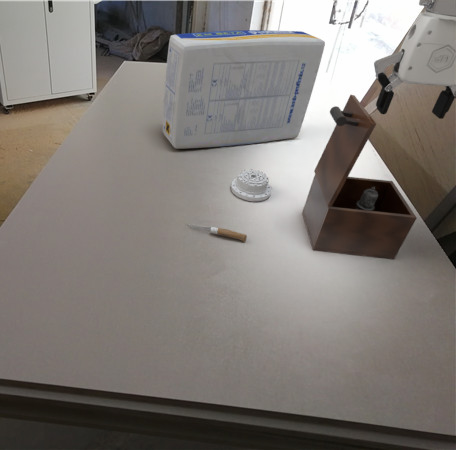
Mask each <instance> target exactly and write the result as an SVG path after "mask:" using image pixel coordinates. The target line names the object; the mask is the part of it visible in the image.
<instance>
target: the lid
mask: <svg viewBox="0 0 456 450" xmlns="http://www.w3.org/2000/svg"><path fill="white" fill-rule="evenodd" d="M329 114H330V116H331V118H332V119H333V121H334V123H335V127H334V128H333V130H332V133H331V135H330V137H329V139H328V141H327V143H326V145H325V147H324V149H323V152H322V154H321V156H320V158H319V160H318V162H317V164H316V165H315V169H314V170H313V173H314V176H315V175H316V177H317V180H318V182H319V185H320V188H321V190H322V193H323V195H324V198H325V201H326V203H327V206H329V207H332V205H333V203H334V201H335V200H336V198H337V196H338V194H339V192H340V190H341V188H342V187H343V185H344V183H345V181H346V179H347V177H350V174H351V171H352V170H353V168H354V166H355V164H356V162H357V161H358V159H359V157H360V155H361V153H362V151H363V149H364V148H365V146H366V144H367V142H368V140H369V138H370V137H371V135H372V133H373V131H374V129H375V128H376V126H377V123H376V122H375V120H374V119H373V118H372V116H371V115H370V114H369V112H368V111H367V110H366V109H365V107H364V105H363V104H362V103H361V102H360V100H359V99H358V98H357V96H356V95H354V94H350V95H349V97H348V99H347V101H346V103H345V105H344V108H343V110H341V108H340V107H339V106H332V107H330V110H329Z"/></svg>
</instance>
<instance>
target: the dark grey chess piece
mask: <svg viewBox="0 0 456 450" xmlns="http://www.w3.org/2000/svg"><path fill="white" fill-rule="evenodd" d="M374 189H375V187H372V189H366V190H364V192H363V194H362V196H361V198H360V201H357V203H356V204H357V207H356V209H357V210H367V211H372V210H374V209H375V206H374V204H375V202H376V200H377V197H378V193H377V192H376V191H375V190H374Z"/></svg>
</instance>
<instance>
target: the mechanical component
mask: <svg viewBox="0 0 456 450" xmlns="http://www.w3.org/2000/svg"><path fill="white" fill-rule="evenodd" d="M269 181H270V180H269V177H268V176H267V174H266V173H264V171H260V170H254V169H251V168H250V169H247V170H246V169H244V170H241V171H239V173H238V174H237V177H235V178H234V179H233V180H232V181H231V184H230V190H231V192H232V194H233V195H235V196H236V197H237V198H240V199H241V200H243V201H250V202H262V201H263V202H264V201H265V200H267V199H269V198H270V197H271V194H272V190H273V189H272V186H271V185H270V184H269V183H270V182H269Z"/></svg>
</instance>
